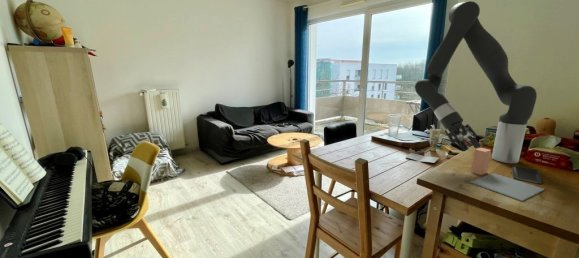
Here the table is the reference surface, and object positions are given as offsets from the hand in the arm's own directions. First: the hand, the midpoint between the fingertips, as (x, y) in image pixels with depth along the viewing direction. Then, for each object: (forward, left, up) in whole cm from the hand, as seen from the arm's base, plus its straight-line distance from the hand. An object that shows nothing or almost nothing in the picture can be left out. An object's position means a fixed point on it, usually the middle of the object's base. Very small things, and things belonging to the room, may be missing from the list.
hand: (472, 148), depth 100 cm
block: (0, +4, -9) cm, 10 cm away
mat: (+5, +15, -9) cm, 18 cm away
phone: (-13, +14, -9) cm, 21 cm away
